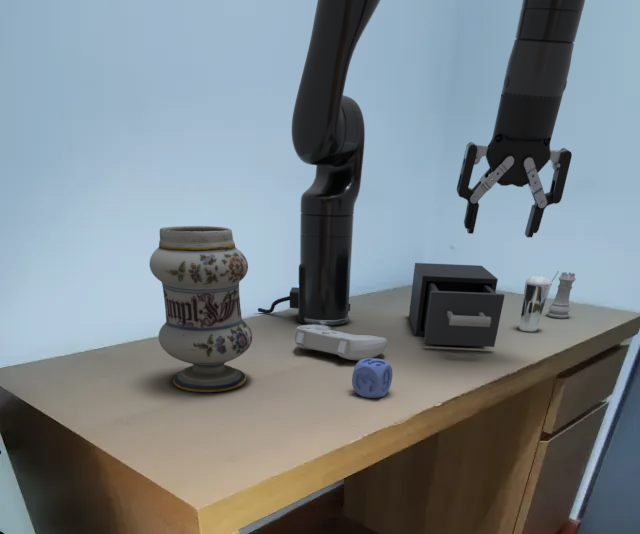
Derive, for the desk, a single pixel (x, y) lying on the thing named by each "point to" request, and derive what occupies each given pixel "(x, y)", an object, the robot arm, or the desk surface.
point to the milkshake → (534, 302)
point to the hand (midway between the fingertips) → (498, 234)
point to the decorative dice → (372, 377)
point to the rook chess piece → (562, 297)
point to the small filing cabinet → (442, 274)
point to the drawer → (461, 314)
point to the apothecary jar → (202, 305)
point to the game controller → (339, 342)
